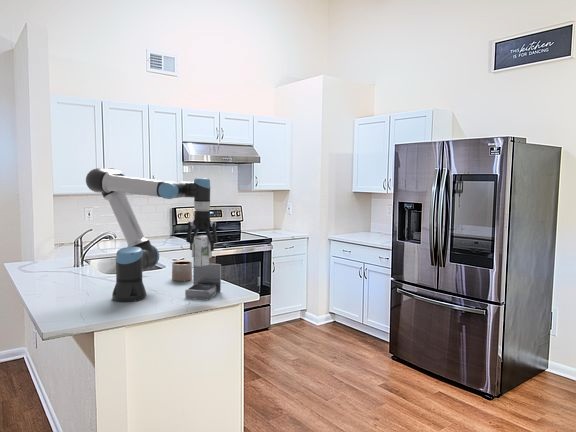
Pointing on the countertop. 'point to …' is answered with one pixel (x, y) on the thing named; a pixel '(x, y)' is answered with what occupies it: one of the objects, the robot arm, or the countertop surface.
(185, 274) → the planter
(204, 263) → the syrup box
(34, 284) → the countertop surface
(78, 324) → the countertop surface
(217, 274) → the bracket
